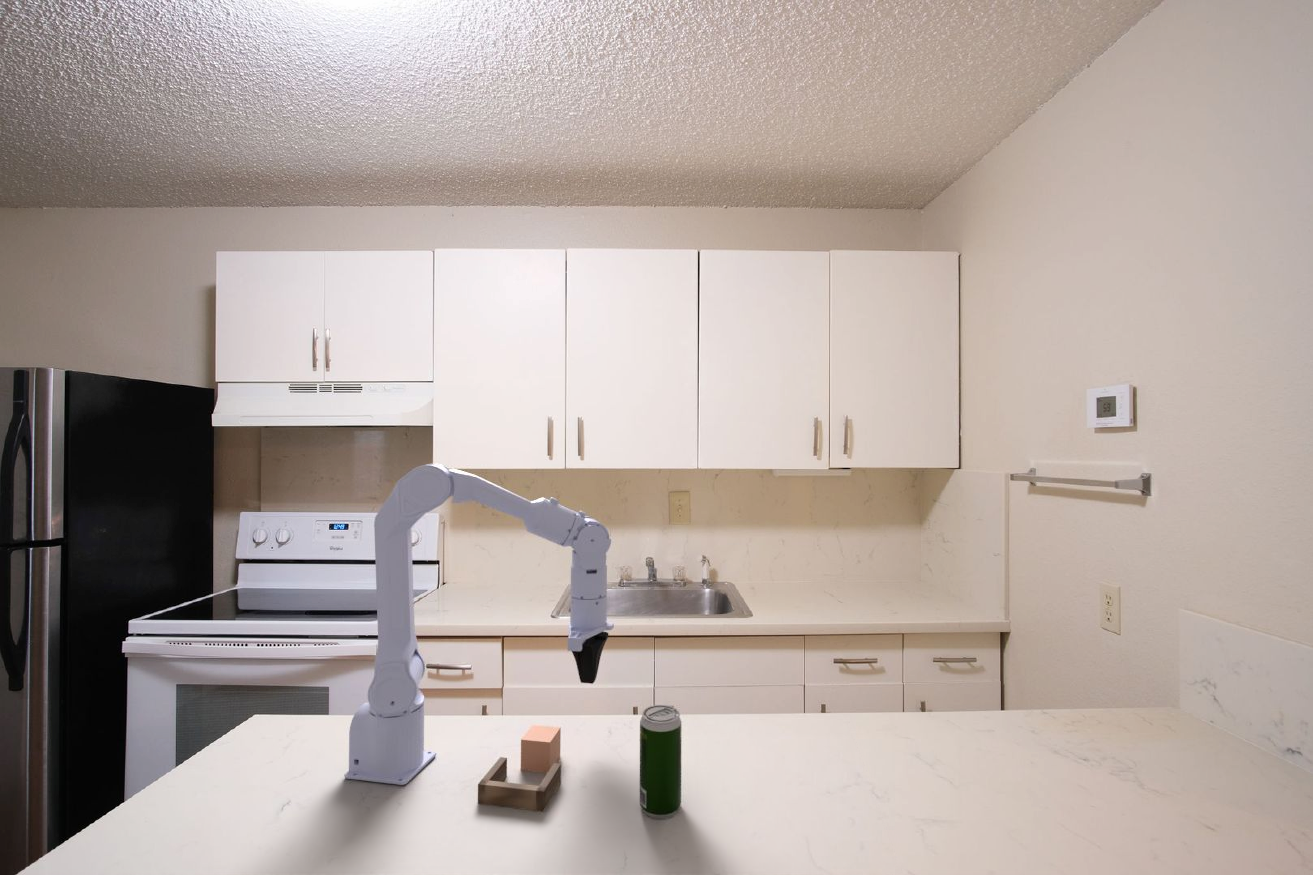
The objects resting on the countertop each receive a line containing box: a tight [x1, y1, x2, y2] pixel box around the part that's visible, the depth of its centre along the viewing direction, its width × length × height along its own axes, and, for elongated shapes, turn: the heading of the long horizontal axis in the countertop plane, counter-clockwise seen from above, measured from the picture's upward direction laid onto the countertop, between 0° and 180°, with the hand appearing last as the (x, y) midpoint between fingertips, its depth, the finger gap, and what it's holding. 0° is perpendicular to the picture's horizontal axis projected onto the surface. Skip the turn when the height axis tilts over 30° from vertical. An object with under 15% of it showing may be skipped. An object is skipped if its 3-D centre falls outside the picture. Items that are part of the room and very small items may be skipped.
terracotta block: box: [520, 724, 562, 774], centre depth 83 cm, size 4×4×4 cm
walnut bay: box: [477, 756, 562, 812], centre depth 75 cm, size 9×6×2 cm
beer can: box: [639, 704, 682, 820], centre depth 73 cm, size 5×5×12 cm
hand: (588, 681), depth 89 cm, fingers closed
